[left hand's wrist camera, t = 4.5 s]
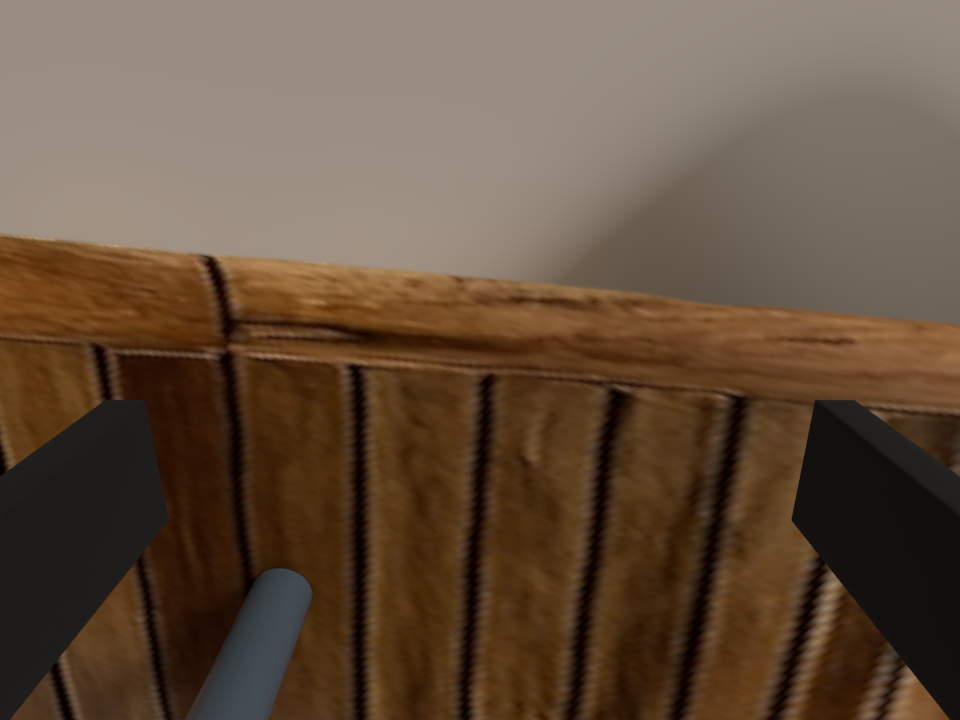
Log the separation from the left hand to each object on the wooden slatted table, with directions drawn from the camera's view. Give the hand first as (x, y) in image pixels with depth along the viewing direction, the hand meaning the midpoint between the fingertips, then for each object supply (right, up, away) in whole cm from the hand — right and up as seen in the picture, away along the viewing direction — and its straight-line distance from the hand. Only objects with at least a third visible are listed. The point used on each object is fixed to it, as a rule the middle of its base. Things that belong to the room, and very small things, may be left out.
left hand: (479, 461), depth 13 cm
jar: (-15, -16, +36) cm, 42 cm away
